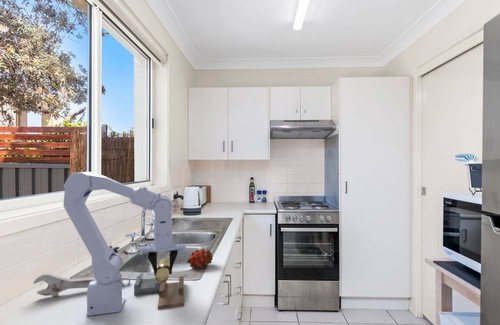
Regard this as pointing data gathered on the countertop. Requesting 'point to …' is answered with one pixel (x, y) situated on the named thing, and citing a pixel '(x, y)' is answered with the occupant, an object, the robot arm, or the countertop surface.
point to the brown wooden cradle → (171, 294)
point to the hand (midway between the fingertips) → (163, 273)
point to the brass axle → (163, 270)
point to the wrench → (63, 284)
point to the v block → (146, 286)
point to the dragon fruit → (200, 258)
